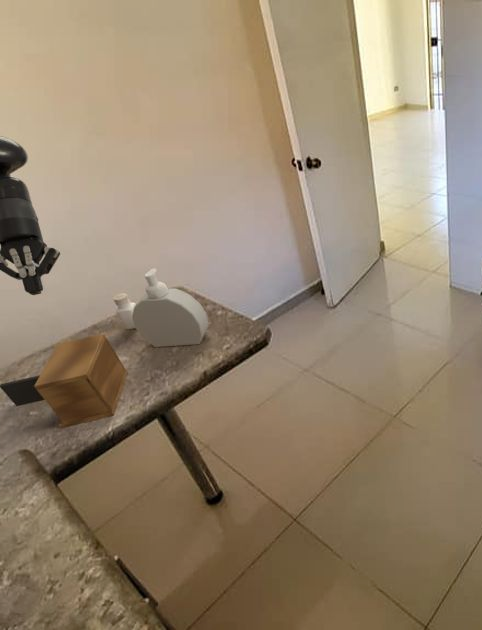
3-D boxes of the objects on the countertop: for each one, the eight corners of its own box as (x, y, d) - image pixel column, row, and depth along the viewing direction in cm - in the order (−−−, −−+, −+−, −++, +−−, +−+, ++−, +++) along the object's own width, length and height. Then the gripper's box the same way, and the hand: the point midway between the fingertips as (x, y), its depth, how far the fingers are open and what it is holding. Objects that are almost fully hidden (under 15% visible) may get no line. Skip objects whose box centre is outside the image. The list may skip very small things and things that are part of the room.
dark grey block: (10, 431, 89) (-19, 399, 83) (23, 407, 94) (-4, 376, 89) (63, 418, 91) (38, 386, 86) (73, 395, 96) (50, 364, 91)
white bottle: (141, 328, 118) (125, 299, 113) (125, 330, 118) (108, 301, 112) (145, 319, 121) (130, 291, 116) (129, 322, 121) (114, 293, 115)
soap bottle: (215, 331, 115) (188, 266, 104) (208, 344, 111) (179, 277, 99) (155, 335, 115) (121, 270, 104) (145, 348, 111) (109, 281, 99)
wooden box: (61, 428, 91) (27, 387, 84) (80, 383, 101) (52, 344, 94) (114, 415, 93) (86, 374, 86) (127, 372, 104) (103, 333, 97)
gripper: (-31, 223, 94) (-12, 298, 92) (41, 210, 98) (61, 281, 97) (-8, 235, 101) (10, 305, 99) (58, 223, 105) (77, 290, 104)
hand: (35, 293), depth 98 cm, fingers closed
